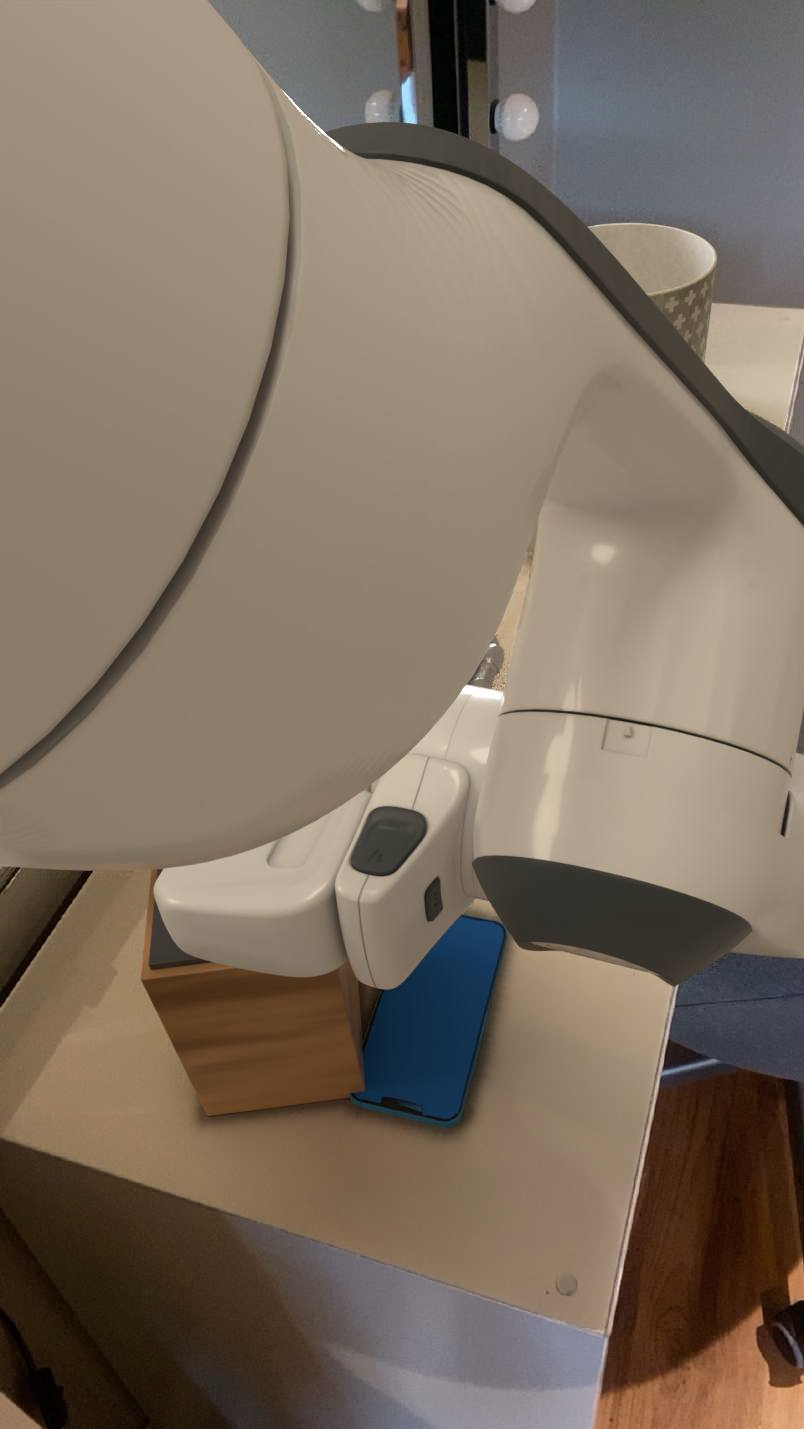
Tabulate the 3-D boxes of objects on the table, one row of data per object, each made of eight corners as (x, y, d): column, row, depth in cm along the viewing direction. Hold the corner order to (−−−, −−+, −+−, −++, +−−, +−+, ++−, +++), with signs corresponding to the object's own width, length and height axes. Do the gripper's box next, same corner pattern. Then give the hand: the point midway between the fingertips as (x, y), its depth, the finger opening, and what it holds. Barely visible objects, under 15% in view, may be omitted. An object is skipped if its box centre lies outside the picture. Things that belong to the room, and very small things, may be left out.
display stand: (366, 1095, 65) (331, 949, 54) (206, 1116, 65) (137, 974, 54) (356, 957, 72) (323, 802, 61) (212, 976, 72) (152, 824, 61)
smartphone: (510, 923, 73) (458, 1126, 63) (510, 931, 74) (459, 1134, 63) (409, 903, 75) (342, 1098, 65) (410, 911, 75) (344, 1105, 65)
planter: (644, 478, 111) (659, 311, 99) (497, 432, 121) (493, 274, 108) (727, 401, 121) (750, 240, 108) (584, 364, 130) (590, 212, 118)
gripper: (514, 581, 50) (252, 544, 54) (357, 937, 36) (25, 850, 40) (516, 679, 54) (274, 637, 58) (377, 1027, 41) (75, 941, 45)
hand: (170, 727), depth 49 cm, fingers closed on lotion bottle, 4 cm apart
